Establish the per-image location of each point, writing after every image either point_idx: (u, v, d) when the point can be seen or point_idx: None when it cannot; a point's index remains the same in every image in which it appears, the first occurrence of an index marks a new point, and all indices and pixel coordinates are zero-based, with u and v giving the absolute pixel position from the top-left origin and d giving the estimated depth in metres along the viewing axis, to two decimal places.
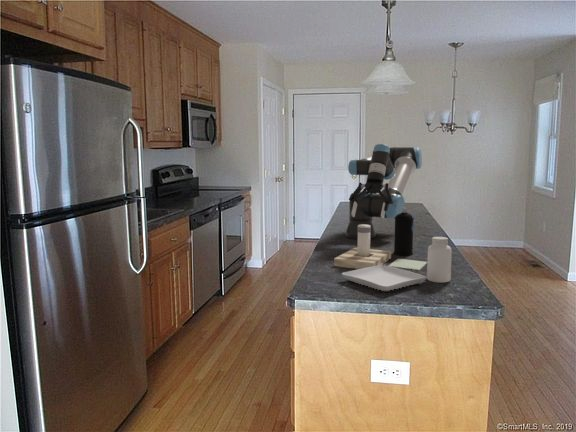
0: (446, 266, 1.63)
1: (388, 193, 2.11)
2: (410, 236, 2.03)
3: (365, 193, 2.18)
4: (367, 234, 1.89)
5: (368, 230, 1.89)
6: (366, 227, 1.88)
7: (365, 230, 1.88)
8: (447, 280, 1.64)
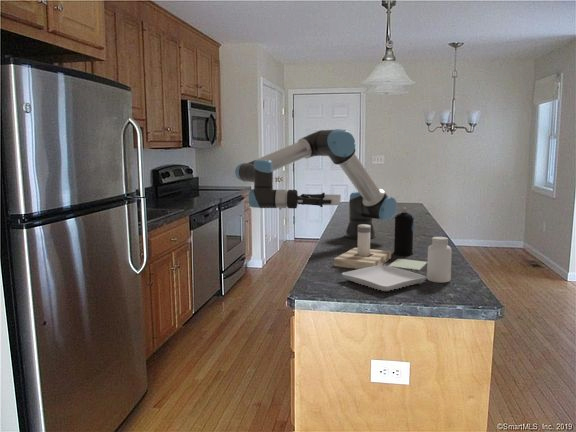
0: (446, 266, 1.63)
1: (310, 204, 1.84)
2: (410, 236, 2.03)
3: None
4: (367, 234, 1.89)
5: (368, 230, 1.89)
6: (366, 227, 1.88)
7: (365, 230, 1.88)
8: (447, 280, 1.64)
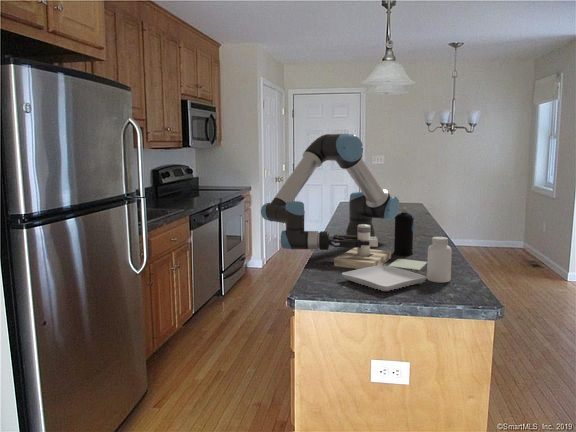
0: (446, 266, 1.63)
1: None
2: (410, 236, 2.03)
3: (344, 239, 1.94)
4: (367, 234, 1.89)
5: (368, 230, 1.89)
6: (366, 227, 1.88)
7: (365, 230, 1.88)
8: (447, 280, 1.64)
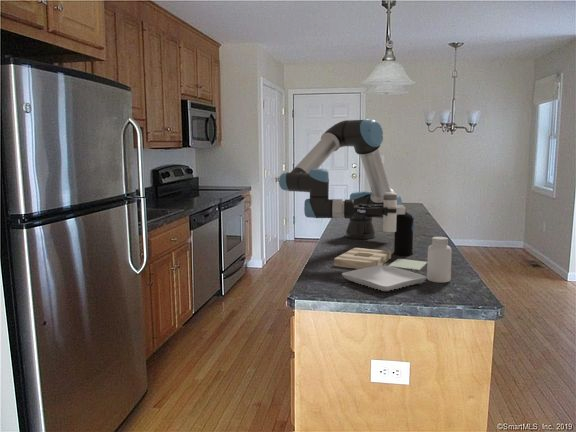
0: (446, 266, 1.63)
1: None
2: (410, 236, 2.03)
3: None
4: (394, 202, 1.83)
5: (395, 197, 1.83)
6: (393, 194, 1.83)
7: (392, 197, 1.83)
8: (447, 280, 1.64)
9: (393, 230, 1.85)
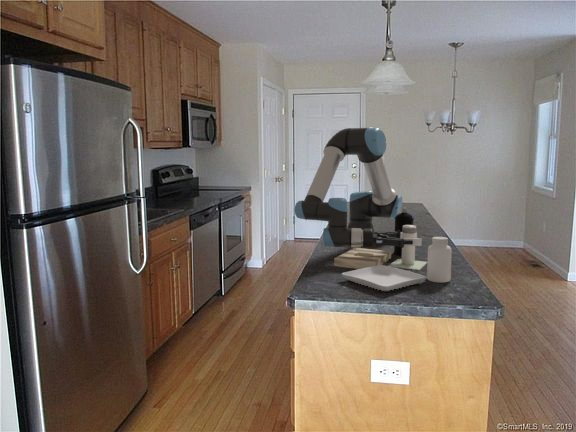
0: (446, 266, 1.63)
1: None
2: None
3: None
4: (413, 235, 1.85)
5: (414, 231, 1.84)
6: (412, 228, 1.84)
7: (411, 231, 1.84)
8: (447, 280, 1.64)
9: (412, 263, 1.86)
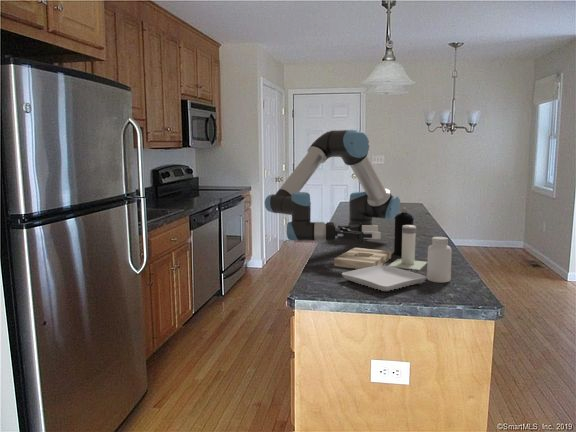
0: (446, 266, 1.63)
1: None
2: None
3: (349, 229, 1.93)
4: (412, 235, 1.84)
5: (414, 231, 1.84)
6: (412, 228, 1.84)
7: (411, 231, 1.84)
8: (447, 280, 1.64)
9: (412, 263, 1.86)
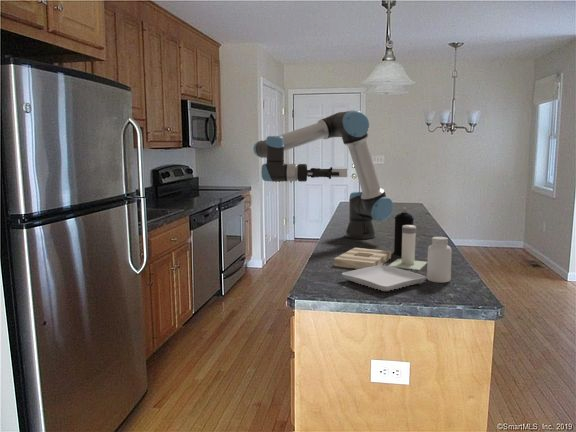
0: (446, 266, 1.63)
1: (319, 176, 1.97)
2: None
3: None
4: (412, 235, 1.84)
5: (414, 231, 1.84)
6: (412, 228, 1.84)
7: (411, 231, 1.84)
8: (447, 280, 1.64)
9: (412, 263, 1.86)
